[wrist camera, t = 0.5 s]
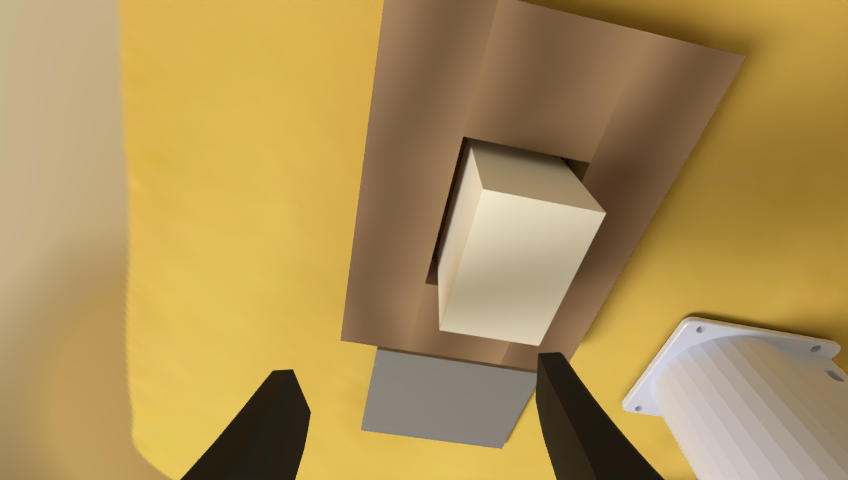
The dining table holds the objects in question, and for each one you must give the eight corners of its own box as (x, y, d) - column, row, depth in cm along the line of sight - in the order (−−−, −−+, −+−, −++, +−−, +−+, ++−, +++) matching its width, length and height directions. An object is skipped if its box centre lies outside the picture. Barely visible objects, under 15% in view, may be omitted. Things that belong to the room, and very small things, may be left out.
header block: (709, 49, 15) (746, 56, 13) (552, 346, 23) (562, 374, 21) (393, -28, 14) (388, -32, 12) (347, 313, 22) (340, 340, 20)
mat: (540, 369, 24) (541, 374, 24) (500, 443, 28) (501, 448, 28) (378, 344, 23) (377, 349, 23) (361, 424, 27) (361, 430, 27)
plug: (557, 154, 17) (606, 213, 12) (513, 265, 20) (538, 346, 15) (468, 135, 17) (482, 189, 12) (437, 251, 20) (439, 330, 15)
